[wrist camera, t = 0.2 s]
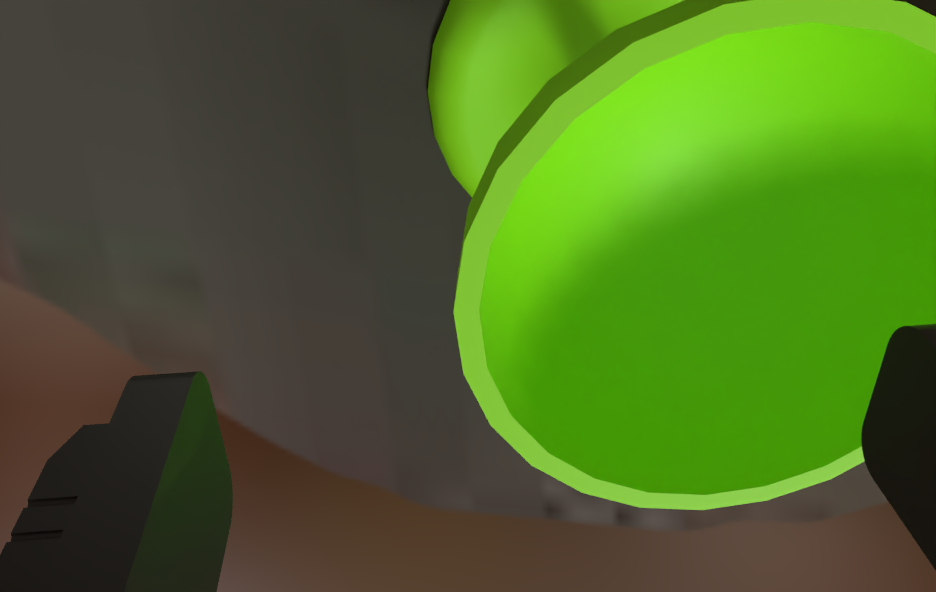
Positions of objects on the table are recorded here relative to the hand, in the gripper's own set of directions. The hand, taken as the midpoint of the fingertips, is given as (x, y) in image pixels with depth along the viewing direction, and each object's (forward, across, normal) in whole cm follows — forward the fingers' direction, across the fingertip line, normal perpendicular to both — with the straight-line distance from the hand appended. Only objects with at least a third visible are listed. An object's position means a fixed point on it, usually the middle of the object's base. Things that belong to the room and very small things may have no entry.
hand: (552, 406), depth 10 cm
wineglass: (+29, -7, +6) cm, 30 cm away
